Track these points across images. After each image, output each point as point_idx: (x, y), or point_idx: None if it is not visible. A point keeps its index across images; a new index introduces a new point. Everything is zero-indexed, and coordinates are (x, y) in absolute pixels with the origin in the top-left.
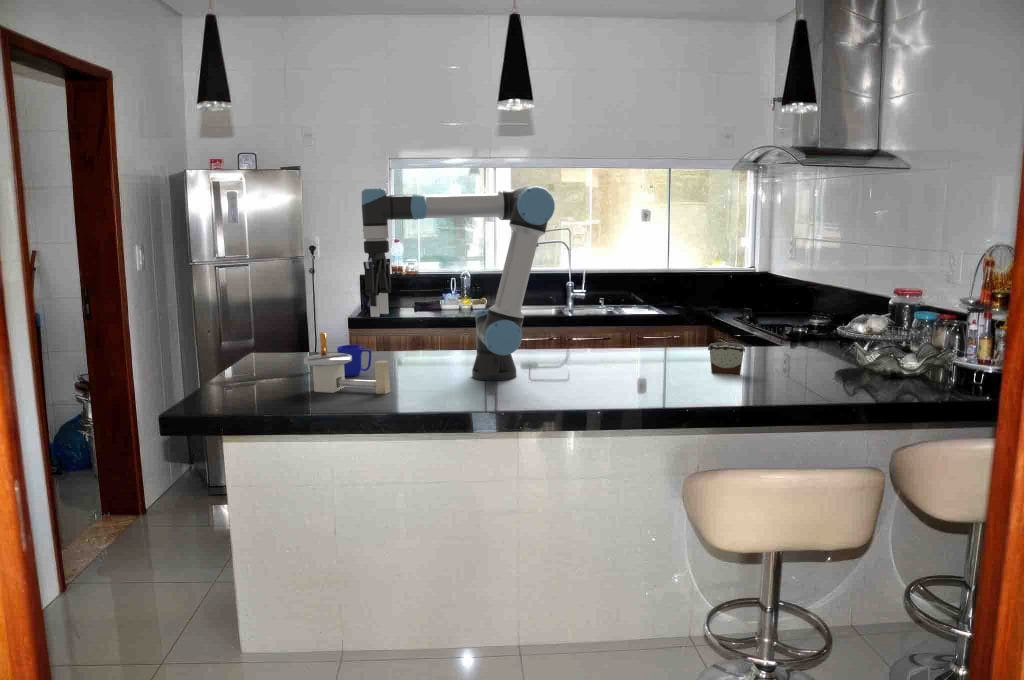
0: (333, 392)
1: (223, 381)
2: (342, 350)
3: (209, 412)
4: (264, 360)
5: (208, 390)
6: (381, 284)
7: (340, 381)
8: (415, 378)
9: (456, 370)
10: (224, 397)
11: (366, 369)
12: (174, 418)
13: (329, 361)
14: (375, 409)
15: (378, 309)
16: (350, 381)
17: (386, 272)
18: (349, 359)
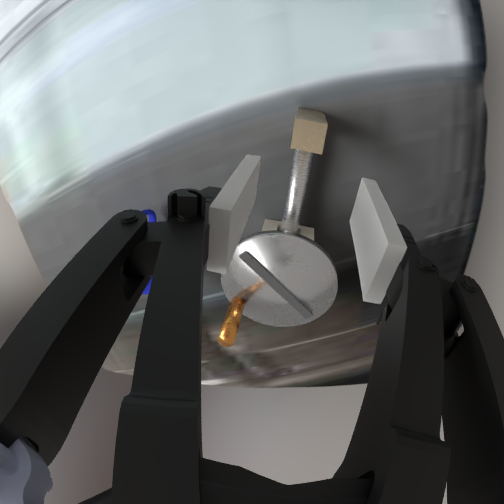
0: (313, 228)
1: (245, 381)
2: None
3: None
4: (127, 362)
5: (296, 383)
6: (201, 304)
7: (296, 228)
8: (160, 92)
9: (83, 43)
10: (337, 362)
11: (154, 212)
12: None
13: (327, 272)
14: (450, 111)
15: (381, 197)
16: (301, 206)
17: (65, 359)
18: (286, 234)
